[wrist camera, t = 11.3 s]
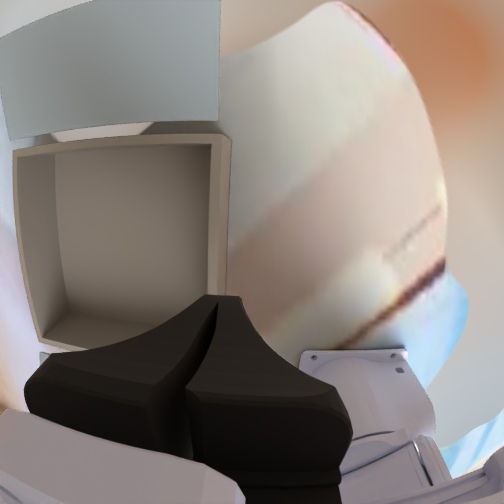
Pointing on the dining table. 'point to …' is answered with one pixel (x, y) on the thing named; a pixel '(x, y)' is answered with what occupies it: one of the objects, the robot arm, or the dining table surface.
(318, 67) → the dining table surface
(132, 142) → the carton
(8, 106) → the near flap
